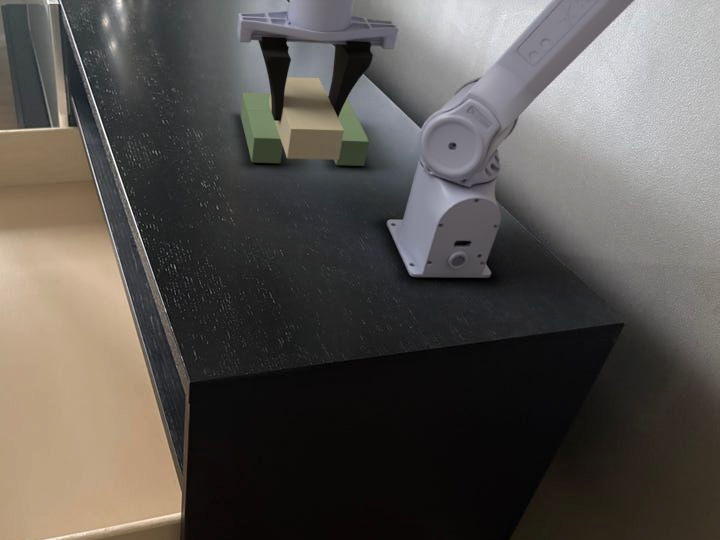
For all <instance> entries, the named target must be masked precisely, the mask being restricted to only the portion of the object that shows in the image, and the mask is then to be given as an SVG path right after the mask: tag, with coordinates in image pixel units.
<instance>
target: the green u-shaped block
mask: <svg viewBox="0 0 720 540" xmlns="http://www.w3.org/2000/svg"><path fill="white" fill-rule="evenodd" d="M241 96H242V97H241V105H240V107H241V108H240V120H241V123H242V124H241V125H242V128H243V132H244V136H245V141H246V144H247V148H248V153H249V157H250V161H251V163H255V164H256V163H257V164H258V163H259V164H281V162H282V155H283V149H284V148H283V145H282V142H281V139H280V136H279V133H278V130H277V127H276V124H275V121H274V118H273V115H272V112H271V109H270V106H269V99H270V93H266V92H265V93H261V92H242V95H241ZM338 119H339V121H340V123H341V125H342V127H343V129H344V134H343V139H342V144H341V150H340V155H339V160H333V161H334V164H335V165H336V166H354V167H356V166H358V167H364V166H365V164H366V159H367V154H368V149H369V145H370V141H369V138H368V136H367V134H366V132H365V130H364V128H363V126H362V124H361V121H360V120H359V118H358V116H357V114H356V112H355V110H354V108H353V106H352V104H351V102H350V99H349V98H348V97H347V99H346V101H345V103H344V105H343V107H342V110H341V112H340V114H339V117H338Z"/></svg>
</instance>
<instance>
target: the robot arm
mask: <svg viewBox="0 0 720 540" xmlns="http://www.w3.org/2000/svg"><path fill="white" fill-rule="evenodd" d="M634 1H635V0H551V1H549V3H548V4H547V5H546V6H545V7H544V9H542V11H540V12H539V14H538V15H537V16H536V17H535V18H534V20H532V22H531V23H530V24H529V25H528V26H527V27H526V28H525V29H524V30H523V32H522V33H521V34H519V36H518V37H517V38H516V39H515V41H513V43H511V45H510V46H509V47H508V48H507V49H506V50H505V51H504V53H503V54H502V55H501V56H500V57H499V58H498V59H497V60H496V61H495V62H494V63H493V64H492V66H491V67H489V69H487V71H486V72H485V73H484V74H483V75H481V76H478V77H476V78H473V79H470V80H468V81H467V82H464V84H462V86H461V85H460V87H459V88H458V89H457V90H456V91H455V93H454V95H453V96H452V97H451V98H450V99H449V100H448V101H447V102H446V103H445V104H444V105H442V107H441V108H440V109H439V110H437V111H435V112H433V113H432V114H431V115H430V116H429V117H428V118H427V119H426V120H425V122H424V123H423V124H422V126H421V127H420V131H419V134H418V141H417V142H418V144H417V146H418V152H419V158H418V161H417V165H416V169H415V172H414V177H413V180H412V184H411V187H410V191H409V195H408V198H407V202H406V206H405V210H404V214H403V218H402V219H389V220H386V221H387V222H386V227H387V228H388V231H389V233H390V235H391V236H392V240H393V242H394V244H395V246H396V248H397V250H398V253H399V255H400V257H401V259H402V263H403V264H404V266H405V268H406V270H407V272H408V274H409V276H410V277H413V278H451V279H452V278H460V279H461V278H463V279H465V278H467V279H468V278H469V279H474V278H476V279H488V278H490V277H491V275H492V271H491V269H490V268H489V266H488V265H487V261H488V259H489V256H490V254H491V251H492V248H493V245H494V243H495V240H496V236H497V234H498V230H499V229H500V226H501V220H502V215H501V211H500V208H499V204H498V203H497V199H496V193H495V192H496V184H497V180H498V175H499V173H500V170H501V165H502V164H501V163H500V155H499V151H498V148H499V147H500V146H501V144H502V143H503V141H505V140H506V139H507V138H508V137H509V136H510V135H511V134H512V133H513V131H514V130H515V128H516V126H517V124H518V122H519V118H520V116H521V115H522V114H523V113H524V112H525V110H526V109H527V108H528V107H529V106H530V105H531V104H532V103H533V102H534V100H536V98H538V97H539V96H540V95H541V94H542V92H544V90H545V89H547V88H548V86H550V84H552V83H553V82H554V81H555V80H556V79H557V78H558V77H559V76H560V75H561V74H562V73H563V72H564V71H565V70H566V69H567V68H568V67H569V66H570V64H572V63H573V62H574V61H575V60H576V59H577V58H578V57H579V56H580V55H581V54H582V53H583V52H585V50H586V49H587V48H588V47H589V46H590V45H591V44H592V43H593V42H594V41H595V40H596V39H597V38H598V37H599V36H600V35H601V34H602V33H603V32H604V31H605V30H606V29H607V28H608V27H610V25H611V24H612V23H613V22H614V21H615V20H617V18H618V17H619V16H620V15H621V14H623V12H624V11H625V10H626V9H628V7H630V5H632V3H633V2H634ZM354 5H355V0H289V3H288V10H280V11H279V10H278V11H267V12H252V13H251V12H249V13H248V12H238V15H237V16H238V17H237V29H236V36H237V40H238V42H239V43H245V44H246V43H247V44H248V43H249V44H250V43H251V42H252V41H257V42H258V44H259V48H260V51H261V53H262V56H263V60H264V64H265V69H266V73H267V78H268V83H269V90H270V91H271V102H272V111H271V112H272V115H273V118H274V120H275V121H281V117H282V111H283V106H284V91H285V85H286V80H287V77H288V74H289V70H290V66H291V62H292V57H291V55H290V53H289V48H290V47H289V45H288V43H306V44H326V45H334V58H333V66H332V67H333V69H332V76H331V77H332V78H331V83H330V88H329V92H328V95H327V96H328V98H329V100H330V102H331V104H332V106H333V108H334V110H335V112H336V114H337V117H339V114H340V112H341V110H342V107H343V105H344V103H345V101H346V99H347V98H348V97H349V96H350V94H351V92H352V90H353V89H354V88H355V85H356V84H357V82H358V81H359V80H360V79H361V77H362V76H363V75H364V73H366V71H367V70H368V69H369V68H370V67H371V64H372V61H373V57H374V54H373V52H372V51H371V48H372V47H381V48H382V49H383V50H394V49H395V45H396V40H397V36H398V32H399V31H398V30H399V27H398V26H397V25H396V24H395V22H394V21H393V20H384V19H375V18H368V17H363V16H357V15H353V11H354ZM270 91H269V92H270Z"/></svg>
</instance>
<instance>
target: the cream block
mask: <svg viewBox="0 0 720 540" xmlns="http://www.w3.org/2000/svg"><path fill="white" fill-rule="evenodd" d="M269 94H270V99H269V106H270V109H271V111H272V102H271V91H269ZM328 96H329V95H328V94H327V91H326V90H325V87H324V85H323V83H322V81H321V79H320V78H319V77H295V76H287V80H286V85H285V91H284V106H283V111H282V117H281V121H275V120H274V121H275V124H276V127H277V130H278V133H279V136H280V139H281V142H282V145H283V148H282V149H283V150H284V154H285V157H286V159H287V160H289V159H290V160H291V159H293V160H294V159H296V160H325V161H326V160H331V161H334V160H339V155H340V150H341V144H342V139H343V134H344V129H343V127H342V125H341V123H340V121H339V119H338V117H337V114H336V112H335V110H334V108H333V106H332V104H331V102H330V100H329V98H328Z"/></svg>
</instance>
